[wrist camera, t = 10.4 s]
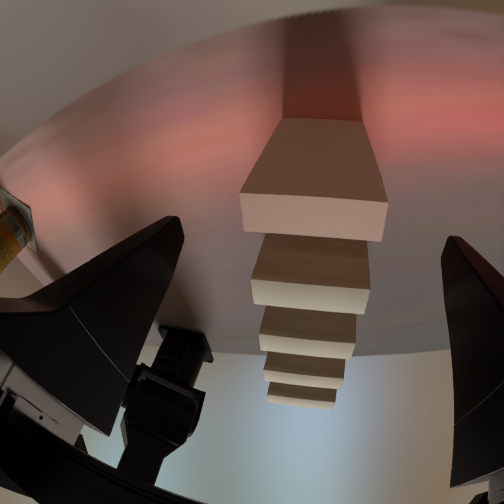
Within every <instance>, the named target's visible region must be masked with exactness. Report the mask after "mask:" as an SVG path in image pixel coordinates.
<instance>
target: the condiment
mask: <svg viewBox="0 0 504 504" xmlns="http://www.w3.org/2000/svg"><path fill="white" fill-rule="evenodd" d="M0 199H1V205H2V208H3V212H2V213H0V273H1V272H2V271H3V270H4V269H5V268H6V267H7V266H8V264H9V263H10V262H11V261H12V260H13V259H14V258H15V257H16V255H17V254H18V253H19V252H20V251H21V250H22V249H23V248H24V247H25V246H26V245H28V246H29V247H30V248H31V249H32V250H34V251H35V252H37V248H36V243H35V237H34V236H35V235H34V231H33V225H32V219H31V213H30V209H29V208H27V207H26V206H25V205H24V204H22V203H21V202H20V201H19V200H17V199H16V198H14V197H13V196H12V195H10V194H8V193H7V192H6V191H4V190H2V189H1V188H0ZM9 205H10V206H9ZM27 221H28V222H27Z"/></svg>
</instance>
